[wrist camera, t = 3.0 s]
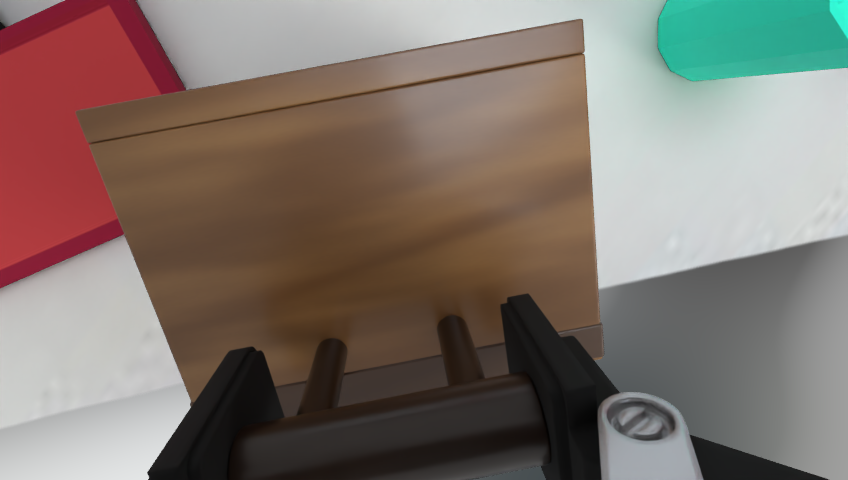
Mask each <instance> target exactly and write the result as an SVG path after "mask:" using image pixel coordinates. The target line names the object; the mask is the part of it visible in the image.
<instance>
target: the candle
mask: <svg viewBox="0 0 848 480" xmlns="http://www.w3.org/2000/svg"><path fill="white" fill-rule="evenodd" d="M658 49H659V51H660V53H661V55H662V56H663V58H664V60H665V62H666V64H667V65H668V67H669V69H670V71H672V72H674V73H676V74H678V75H680V76H682V77H685V78H687V79H689V80H691V81H700V80H711V79H723V78H734V77H746V76H757V75H768V74H780V73H791V72H803V71H814V70H825V69H837V68H848V0H667V2H666V4H665V6H664V8H663V11H662V13H661V15H660V17H659V19H658Z"/></svg>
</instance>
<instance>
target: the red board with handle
mask: <svg viewBox="0 0 848 480" xmlns="http://www.w3.org/2000/svg"><path fill="white" fill-rule="evenodd" d="M180 91H186V89H185V87H184V85H183V84H182V82H181V80H180V78H179V77H178V75H177V73H176V71H175V69H174V68H173V66H172V64H171V62H170V61H169V59H168V57H167V55H166V54H165V52H164V50H163V48H162V46H161V45H160V43H159V41H158V39H157V38H156V36H155V34H154V32H153V31H152V29H151V27H150V25H149V24H148V22H147V20H146V18H145V16H144V15H143V13H142V11H141V9H140V8H139V6H138V4H137V2H136V1H135V0H65V1H63V2H60V3H58V4H56V5H54V6H52V7H50V8H47V9H45V10H43V11H41V12H39V13H37V14H34V15H32V16H30V17H28V18H26V19H24V20H21V21H19V22H17V23H15V24H13V25H11V26H8V27H6V28H5V27H4V26H3V24H2V23H1V22H0V288H2V287H4V286H7V285H9V284H11V283H13V282H16V281H18V280H20V279H23V278H25V277H27V276H29V275H32V274H34V273H36V272H39V271H41V270H43V269H45V268H48V267H50V266H52V265H55V264H57V263H59V262H61V261H64V260H66V259H68V258H71V257H73V256H75V255H77V254H80V253H82V252H84V251H87V250H89V249H91V248H94V247H96V246H98V245H100V244H103V243H105V242H107V241H110V240H112V239H114V238H116V237H119V236H121V235H123V234H124V232H123V230H122V227H121V225H120V222H119V220H118V217H117V215H116V212H115V210H114V207H113V205H112V202H111V200H110V197H109V195H108V192H107V190H106V187H105V185H104V182H103V180H102V177H101V175H100V172H99V170H98V167H97V165H96V162H95V160H94V157H93V155H92V152H91V150H90V147H89V145H90V144H91V143H88V142H87V141H86V138H85V136H84V133H83V131H82V128H81V126H80V123H79V121H78V118H77V116H76V113H75V111H77V110H81V109H87V108H92V107H98V106H103V105H109V104H114V103H120V102H125V101H131V100H136V99H142V98H147V97H153V96H158V95H164V94H169V93H175V92H180Z"/></svg>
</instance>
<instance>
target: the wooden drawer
mask: <svg viewBox="0 0 848 480" xmlns="http://www.w3.org/2000/svg"><path fill="white" fill-rule="evenodd" d="M584 51H585V49H584V32H583V20H582V19H576V20H571V21H565V22H560V23H554V24H549V25H543V26H538V27H532V28H527V29H521V30H516V31H510V32H505V33H499V34H494V35H488V36H483V37H477V38H472V39H466V40H461V41H455V42H450V43H444V44H439V45H433V46H428V47H422V48H417V49H411V50H406V51H400V52H395V53H389V54H384V55H378V56H373V57H367V58H362V59H356V60H351V61H345V62H340V63H334V64H329V65H323V66H318V67H312V68H307V69H301V70H296V71H290V72H285V73H279V74H274V75H268V76H263V77H257V78H252V79H246V80H241V81H235V82H230V83H224V84H219V85H213V86H208V87H202V88H197V89H191V90H186V91H180V92H175V93H169V94H164V95H158V96H153V97H147V98H142V99H136V100H131V101H125V102H120V103H114V104H109V105H103V106H98V107H92V108H87V109H81V110H77V111H75V113H76V116H77V118H78V121H79V123H80V126H81V128H82V131H83V133H84V136H85V138H86V141H87V142H88V143H91V144H90V145H89V147H90V150H91V152H92V155H93V157H94V160H95V162H96V165H97V167H98V170H99V172H100V175H101V177H102V180H103V182H104V185H105V187H106V190H107V192H108V195H109V197H110V200H111V202H112V205H113V207H114V210H115V212H116V215H117V217H118V220H119V222H120V225H121V227H122V230H123V232H124V235H125V237H126V240H127V242H128V245H129V247H130V250H131V252H132V255H133V257H134V260H135V262H136V265H137V267H138V270H139V272H140V274H141V277H142V279H143V282H144V284H145V287H146V289H147V292H148V294H149V297H150V299H151V302H152V304H153V307H154V309H155V312H156V314H157V317H158V319H159V322H160V324H161V327H162V329H163V332H164V334H165V337H166V339H167V342H168V344H169V347H170V349H171V352H172V354H173V357H174V359H175V362H176V364H177V367H178V369H179V372H180V374H181V377H182V379H183V382H184V384H185V386H186V389H187V392H188V394H189V397H190V399H191V403H190V406H191V407H192V405H193V404H194V402H195V401H196V399H197V398H198V396H199V395H200V393H201V392H202V390H203V389H204V387H205V386H206V384H207V383H208V381H209V380H210V378H211V377H212V375H213V374H214V372H215V371H216V369H217V368H218V366H219V365H220V363H221V362H222V360H223V359H224V357H225V356H226V354H227V353H228V352H229V351H230V350H235V349H240V348H246V347H251V346H253V347H254V348H255V349H256V350H257V351H259V350H261V351H262V352H263V353H264V355H265V358H266V361H267V364H268V367H269V370H270V373H271V376H272V380H273V383H274V386H275V389H276V392H277V395H278V398H279V401H280V404H281V407H282V410H283V413H284V416H285V418H280V419H275V420H269V421H264V422H259V423H254V424H249V425H246V426H244V427H243V428H241V429H240V430H239V432H238V433H237V435H236V437H235V439H234V441H233V444H232V447H231V451H230V456H229V463H228V480H473V479H478V478H483V477H488V476H493V475H498V474H503V473H508V472H513V471H518V470H523V469H528V468H533V467H538V466H543V465H548V464H549V463H550V461H551V445H550V438H549V433H548V428H547V424H546V420H545V416H544V412H543V409H542V405H541V402H540V399H539V396H538V393H537V391H536V388H535V386H534V384H533V382H532V380H531V378H530V376H529V375H528V373H527V372H524V371H521V372H516V373H511V374H509V369H508V361H507V354H506V346H505V339H504V331H503V324H502V317H501V309H500V305H501V304H504V303H507V297H511V296H516V295H522V294H527V293H528V294H529V295H530V296H531V297H532V299H533V300H534V301H535V303H536V304H537V305H538V307H539V308H540V309H541V311H542V312H543V314H544V315H545V316H546V318H547V319H548V320H549V322H550V323H551V324H552V326H553V327H554V329H555V330H556V331H557V333H558V334H559V335H560V337H566V336H574V337H575V338H576V339H577V340H578V341H579V342H580V344H581V345H582V346H583V347H584V349H585V350H586V351H587V352H588V354H589V355H590V356H591V357H592V359H593V360H598V359H602V357H603V356H604V342H603V325H602V323H601V322H600V311H599V293H598V275H597V258H596V241H595V224H594V207H593V190H592V173H591V156H590V139H589V122H588V105H587V88H586V70H585V56H584V54H582V53H584Z"/></svg>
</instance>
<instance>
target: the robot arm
mask: <svg viewBox="0 0 848 480" xmlns="http://www.w3.org/2000/svg"><path fill="white" fill-rule="evenodd" d="M500 309H501V317H502V324H503V331H504V339H505V346H506V354H507V361H508V369H509V374H511V373H516V372H521V371H524V372H527V373H528V375H529V376H530V378H531V380H532V382H533V384H534V386H535V388H536V391H537V393H538V396H539V399H540V402H541V405H542V409H543V412H544V416H545V420H546V424H547V428H548V433H549V438H550V445H551V461H550V463H549V464H548V465H543V466H541V468H542V471H543V473H544V475H545V478H546V480H828V479H825V478H822V477H819V476H816V475H813V474H810V473H807V472H804V471H801V470H798V469H794V468H792V467H788V466H785V465H782V464H779V463H776V462H773V461H770V460H767V459H763V458H761V457H757V456H754V455H751V454H748V453H745V452H742V451H739V450H736V449H732V448H729V447H726V446H723V445H720V444H717V443H714V442H711V441H708V440H704V439H702V438H698V437H695V436H692V435H689V432H688V429H687V426H686V423H685V420H684V419H683V417H682V415H681V413H680V412H679V411H678V410H677V409H676V408H675V407H674V406H672V404H670V403H668V402H666V401H665V400H662V399H661V398H658V397H655V396H652V395H649V394H645V393H638V392H625V393H620V392H619V391H618V390H617V389H616V387H615V386H614V385H613V384H612V383H611V381H610V380H609V379H608V378H607V376H606V375H605V374H604V372H603V371H602V370H601V369H600V367H599V366H598V365H597V364H596V362H595V361H594V360H593V359H592V357H591V356H590V355H589V354H588V352H587V351H586V350H585V349H584V347H583V346H582V345H581V344H580V342H579V341H578V340H577V339H576V338H575V337H574V336H566V337H560V335H559V334H558V333H557V331H556V330H555V329H554V327H553V326H552V324H551V323H550V322H549V320H548V319H547V318H546V316H545V315H544V314H543V312H542V311H541V309H540V308H539V307H538V305H537V304H536V303H535V301H534V300H533V299H532V297H531V296H530V295H529V294H528V293H527V294H522V295H516V296H511V297H507V303H504V304H501V305H500ZM280 418H285V416H284V413H283V410H282V407H281V404H280V401H279V398H278V395H277V392H276V389H275V386H274V383H273V380H272V376H271V373H270V370H269V367H268V364H267V361H266V358H265V355H264V353H263V352H262V351H261V350H259V351H257V350H256V349H255V348H254V347H253V346H251V347H246V348H240V349H235V350H230V351H229V352H228V353H227V354H226V356H225V357H224V359H223V360H222V362H221V363H220V365H219V366H218V368H217V369H216V371H215V372H214V374H213V375H212V377H211V378H210V380H209V381H208V383H207V384H206V386H205V387H204V389H203V390H202V392H201V393H200V395H199V396H198V398H197V399H196V401H195V402H194V404H193V405H192V407H191V408H190V410H189V411H188V413H187V414H186V416H185V417H184V419H183V420H182V422H181V423H180V425H179V426H178V428H177V429H176V431H175V432H174V434H173V435H172V437H171V438H170V440H169V441H168V443H167V444H166V446H165V447H164V449H163V450H162V451H161V453H160V455H159V456H158V457H157V459H156V460H155V462H154V463H153V465H152V467H151V468H150V470H149V471H148V472H147V473H148V475H149V479H148V480H228V463H229V456H230V451H231V447H232V444H233V441H234V439H235V437H236V435H237V433H238V432H239V430H240V429H241V428H243V427H244V426H246V425H249V424H254V423H259V422H264V421H269V420H275V419H280Z"/></svg>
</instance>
